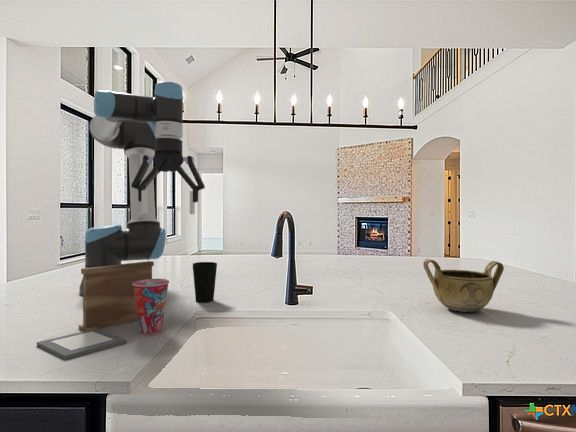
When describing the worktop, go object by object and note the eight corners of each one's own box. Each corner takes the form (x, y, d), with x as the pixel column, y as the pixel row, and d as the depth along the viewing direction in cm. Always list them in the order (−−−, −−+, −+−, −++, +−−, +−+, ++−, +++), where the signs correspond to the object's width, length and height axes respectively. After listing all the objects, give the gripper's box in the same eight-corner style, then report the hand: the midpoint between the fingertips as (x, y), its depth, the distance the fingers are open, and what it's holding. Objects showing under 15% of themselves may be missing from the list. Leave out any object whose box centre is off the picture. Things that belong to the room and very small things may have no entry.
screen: (76, 329, 101) (76, 267, 100) (145, 314, 116) (145, 260, 115) (89, 334, 97) (89, 270, 97) (158, 317, 112) (158, 262, 112)
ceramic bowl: (432, 316, 115) (432, 262, 115) (416, 302, 132) (416, 255, 132) (514, 318, 114) (515, 264, 114) (487, 304, 131) (488, 256, 131)
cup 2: (211, 304, 128) (211, 265, 128) (188, 302, 130) (188, 264, 130) (220, 298, 136) (220, 262, 136) (198, 297, 137) (198, 261, 137)
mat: (36, 345, 88) (36, 341, 88) (96, 331, 99) (96, 328, 99) (65, 359, 81) (65, 355, 81) (126, 342, 91) (126, 338, 91)
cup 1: (169, 335, 97) (169, 284, 96) (130, 338, 94) (130, 285, 94) (169, 324, 105) (169, 277, 105) (133, 327, 103) (133, 278, 103)
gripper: (119, 136, 114) (119, 213, 114) (210, 137, 113) (209, 214, 114) (130, 140, 121) (129, 212, 122) (215, 141, 121) (214, 214, 122)
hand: (168, 213), depth 118 cm, fingers open, 13 cm apart
